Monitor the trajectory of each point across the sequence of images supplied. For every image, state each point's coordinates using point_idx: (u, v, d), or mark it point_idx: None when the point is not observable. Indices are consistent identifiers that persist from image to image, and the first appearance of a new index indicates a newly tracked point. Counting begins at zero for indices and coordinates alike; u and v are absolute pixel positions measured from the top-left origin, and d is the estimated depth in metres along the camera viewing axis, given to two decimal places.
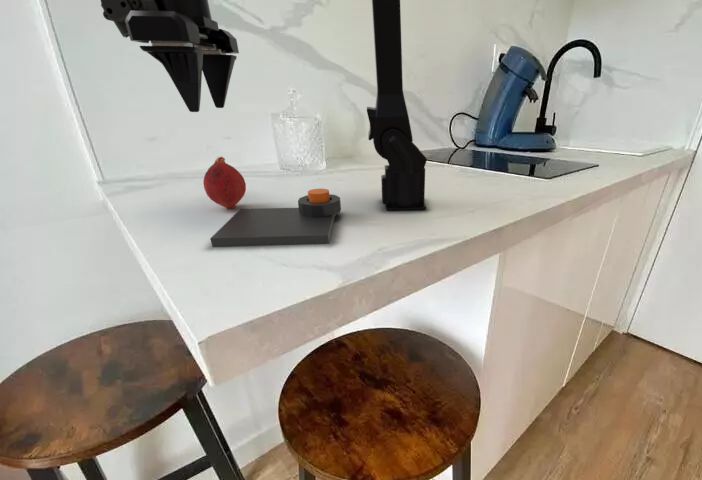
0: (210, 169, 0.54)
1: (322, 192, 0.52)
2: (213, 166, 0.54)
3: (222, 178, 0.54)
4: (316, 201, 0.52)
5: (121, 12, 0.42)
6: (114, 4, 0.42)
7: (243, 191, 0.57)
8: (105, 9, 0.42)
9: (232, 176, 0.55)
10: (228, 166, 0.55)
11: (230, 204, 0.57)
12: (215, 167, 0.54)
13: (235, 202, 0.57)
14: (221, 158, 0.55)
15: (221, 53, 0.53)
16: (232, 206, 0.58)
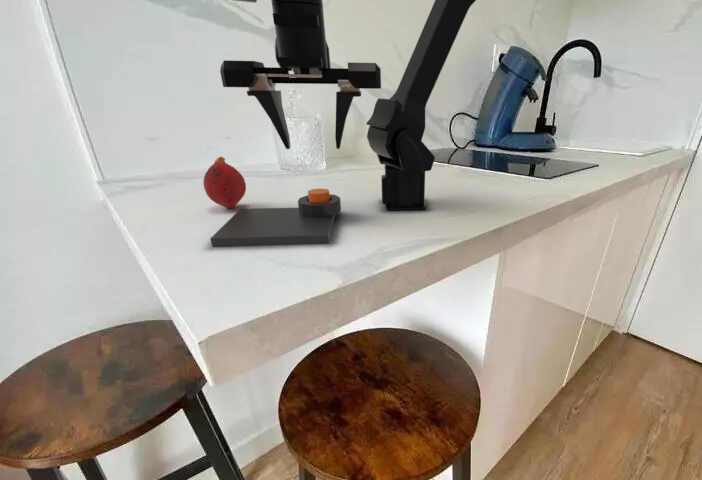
0: (210, 169, 0.54)
1: (322, 192, 0.52)
2: (213, 166, 0.54)
3: (222, 178, 0.54)
4: (316, 201, 0.52)
5: None
6: None
7: (243, 191, 0.57)
8: None
9: (232, 176, 0.55)
10: (228, 166, 0.55)
11: (230, 204, 0.57)
12: (215, 167, 0.54)
13: (235, 202, 0.57)
14: (221, 158, 0.55)
15: (342, 90, 0.45)
16: (232, 206, 0.58)
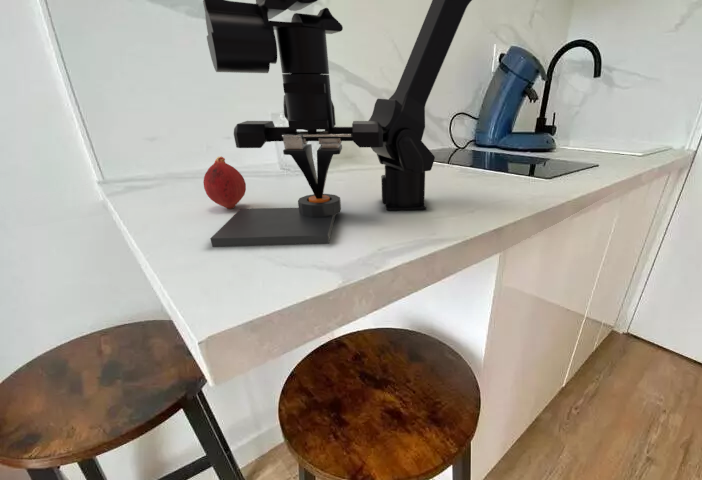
0: (210, 169, 0.54)
1: (323, 199, 0.52)
2: (213, 166, 0.54)
3: (222, 178, 0.54)
4: None
5: None
6: None
7: (243, 191, 0.57)
8: None
9: (232, 176, 0.55)
10: (228, 166, 0.55)
11: (230, 204, 0.57)
12: (215, 167, 0.54)
13: (235, 202, 0.57)
14: (221, 158, 0.55)
15: (323, 147, 0.48)
16: (232, 206, 0.58)
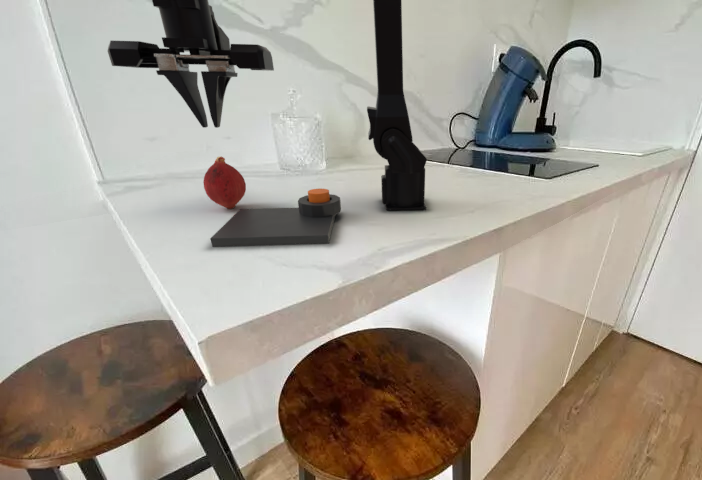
0: (210, 169, 0.54)
1: (322, 192, 0.52)
2: (213, 166, 0.54)
3: (222, 178, 0.54)
4: (316, 201, 0.52)
5: None
6: None
7: (243, 191, 0.57)
8: None
9: (232, 176, 0.55)
10: (228, 166, 0.55)
11: (230, 204, 0.57)
12: (215, 167, 0.54)
13: (235, 202, 0.57)
14: (221, 158, 0.55)
15: (210, 70, 0.48)
16: (232, 206, 0.58)
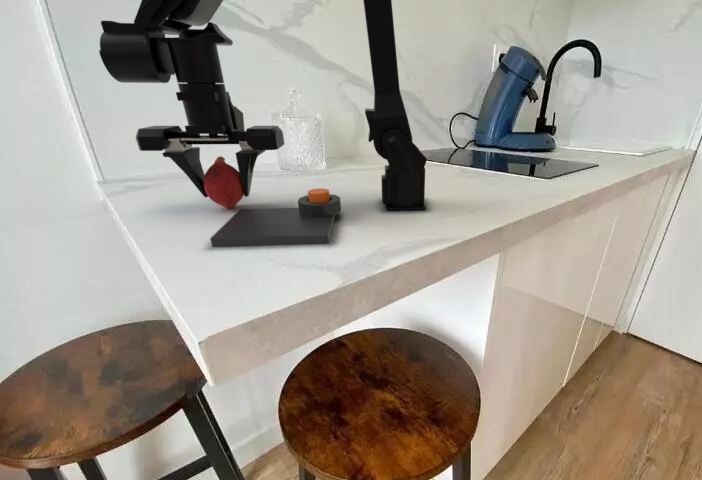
0: (210, 169, 0.54)
1: (322, 192, 0.52)
2: (213, 166, 0.54)
3: (221, 178, 0.54)
4: (316, 201, 0.52)
5: None
6: None
7: None
8: None
9: (232, 176, 0.55)
10: (228, 166, 0.55)
11: (230, 204, 0.57)
12: (215, 167, 0.54)
13: (235, 202, 0.57)
14: (221, 158, 0.55)
15: (243, 150, 0.53)
16: (232, 206, 0.58)
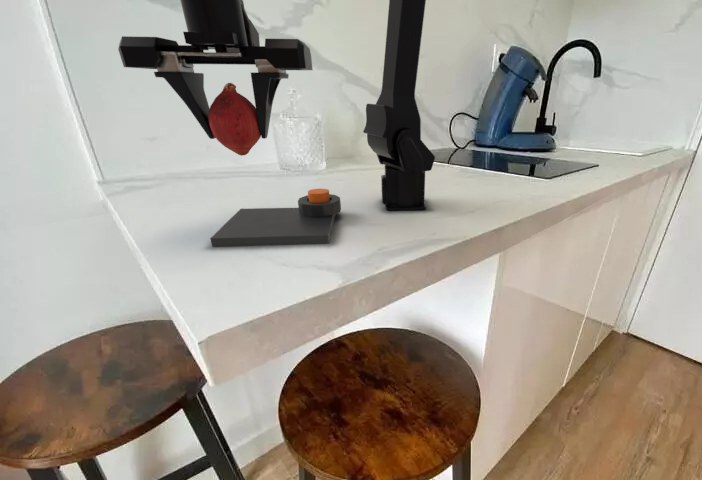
0: (217, 98, 0.41)
1: (322, 192, 0.52)
2: (221, 95, 0.41)
3: (232, 109, 0.41)
4: (316, 201, 0.52)
5: None
6: None
7: (259, 131, 0.44)
8: None
9: (246, 108, 0.42)
10: (240, 96, 0.42)
11: (243, 147, 0.44)
12: (223, 96, 0.41)
13: (249, 145, 0.44)
14: (231, 85, 0.42)
15: (260, 71, 0.40)
16: (245, 151, 0.45)
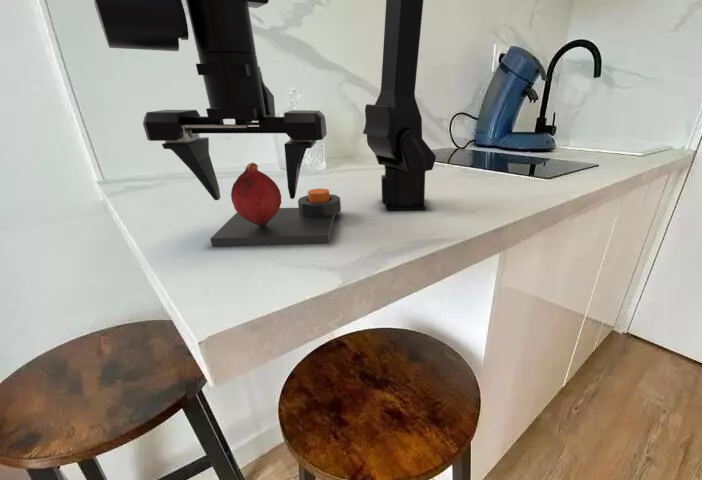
0: (240, 178, 0.44)
1: (322, 192, 0.52)
2: (244, 175, 0.44)
3: (254, 190, 0.44)
4: (316, 201, 0.52)
5: None
6: None
7: (279, 205, 0.46)
8: None
9: (267, 187, 0.44)
10: (262, 175, 0.45)
11: (263, 221, 0.46)
12: (246, 177, 0.44)
13: (269, 218, 0.47)
14: (253, 165, 0.44)
15: (292, 140, 0.42)
16: (265, 223, 0.47)
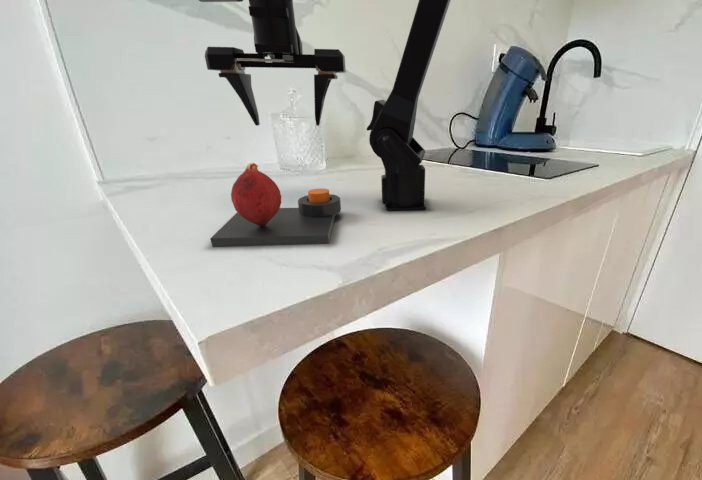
0: (240, 178, 0.44)
1: (322, 192, 0.52)
2: (244, 175, 0.44)
3: (255, 190, 0.44)
4: (316, 201, 0.52)
5: None
6: None
7: (279, 205, 0.46)
8: None
9: (267, 187, 0.44)
10: (262, 175, 0.45)
11: (263, 221, 0.46)
12: (246, 177, 0.44)
13: (269, 218, 0.47)
14: (253, 165, 0.44)
15: (319, 73, 0.53)
16: (265, 223, 0.47)
